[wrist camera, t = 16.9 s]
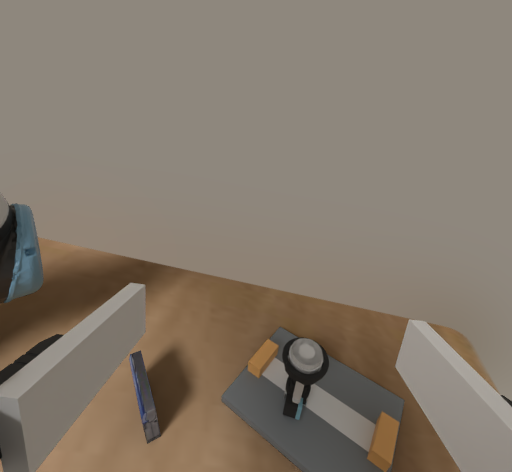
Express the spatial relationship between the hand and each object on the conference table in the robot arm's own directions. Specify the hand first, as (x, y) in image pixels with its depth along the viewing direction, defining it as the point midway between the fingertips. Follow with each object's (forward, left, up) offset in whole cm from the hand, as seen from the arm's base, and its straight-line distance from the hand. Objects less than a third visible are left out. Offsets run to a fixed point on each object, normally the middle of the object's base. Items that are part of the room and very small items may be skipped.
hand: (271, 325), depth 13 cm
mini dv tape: (-16, 0, -26) cm, 31 cm away
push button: (-1, +13, -25) cm, 28 cm away
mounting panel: (+1, +14, -26) cm, 30 cm away
